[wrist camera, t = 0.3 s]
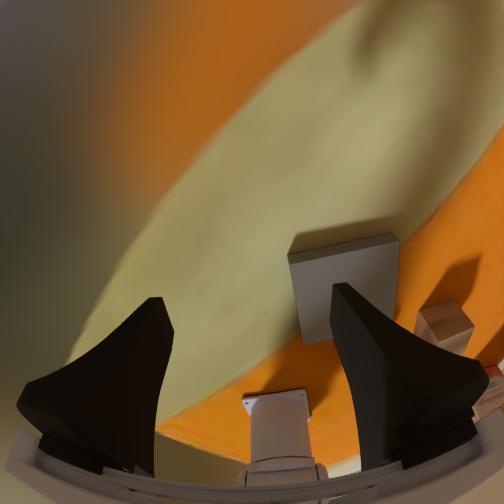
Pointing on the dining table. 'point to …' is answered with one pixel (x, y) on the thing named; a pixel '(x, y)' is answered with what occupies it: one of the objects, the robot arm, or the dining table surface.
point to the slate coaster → (343, 280)
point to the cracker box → (490, 394)
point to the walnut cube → (445, 326)
